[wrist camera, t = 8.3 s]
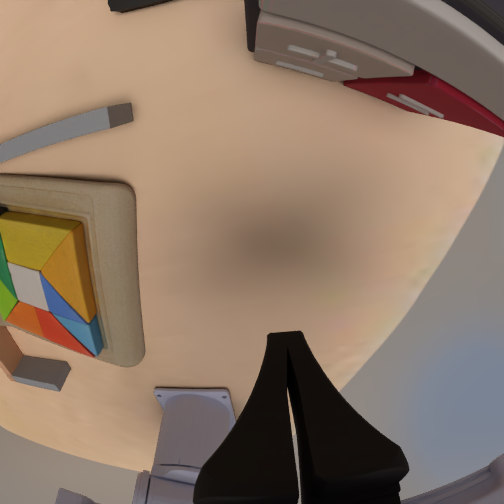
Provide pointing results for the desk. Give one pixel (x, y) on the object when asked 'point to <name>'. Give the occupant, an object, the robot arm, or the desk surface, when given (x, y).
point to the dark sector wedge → (132, 4)
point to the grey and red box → (393, 51)
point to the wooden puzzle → (72, 265)
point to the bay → (3, 346)
